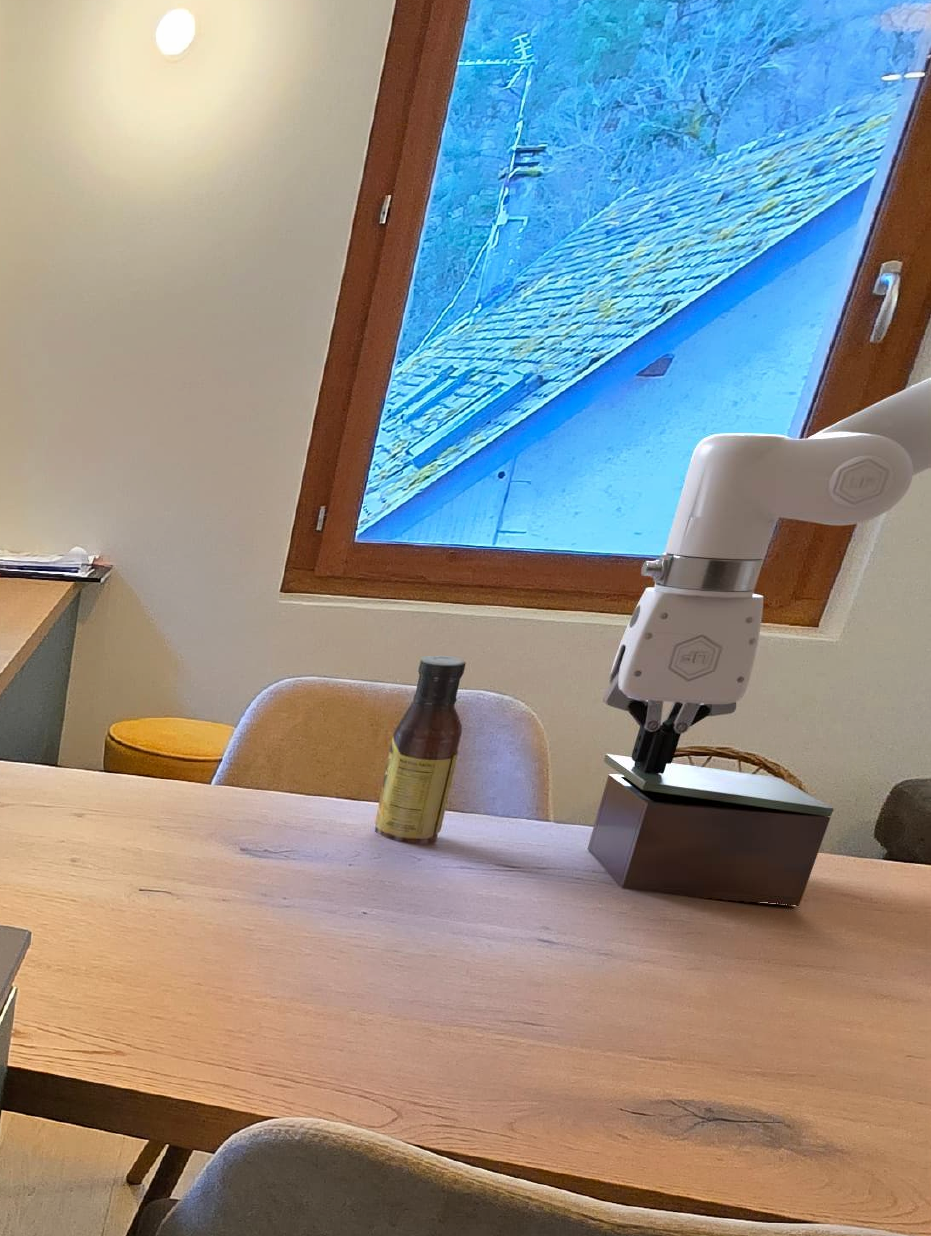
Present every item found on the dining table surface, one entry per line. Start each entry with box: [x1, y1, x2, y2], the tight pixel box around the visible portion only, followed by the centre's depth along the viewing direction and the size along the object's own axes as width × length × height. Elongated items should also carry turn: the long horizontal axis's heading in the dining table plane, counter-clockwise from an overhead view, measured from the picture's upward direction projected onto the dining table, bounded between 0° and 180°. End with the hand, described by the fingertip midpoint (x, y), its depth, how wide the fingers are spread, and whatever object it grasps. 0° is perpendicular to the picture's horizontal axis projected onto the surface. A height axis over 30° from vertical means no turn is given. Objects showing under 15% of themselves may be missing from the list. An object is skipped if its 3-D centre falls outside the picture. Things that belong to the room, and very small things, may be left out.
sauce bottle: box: [374, 655, 466, 845], centre depth 141 cm, size 7×6×20 cm
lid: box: [603, 753, 835, 818], centre depth 131 cm, size 15×12×1 cm
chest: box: [587, 773, 831, 907], centre depth 133 cm, size 15×12×9 cm
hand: (648, 769), depth 132 cm, fingers closed
